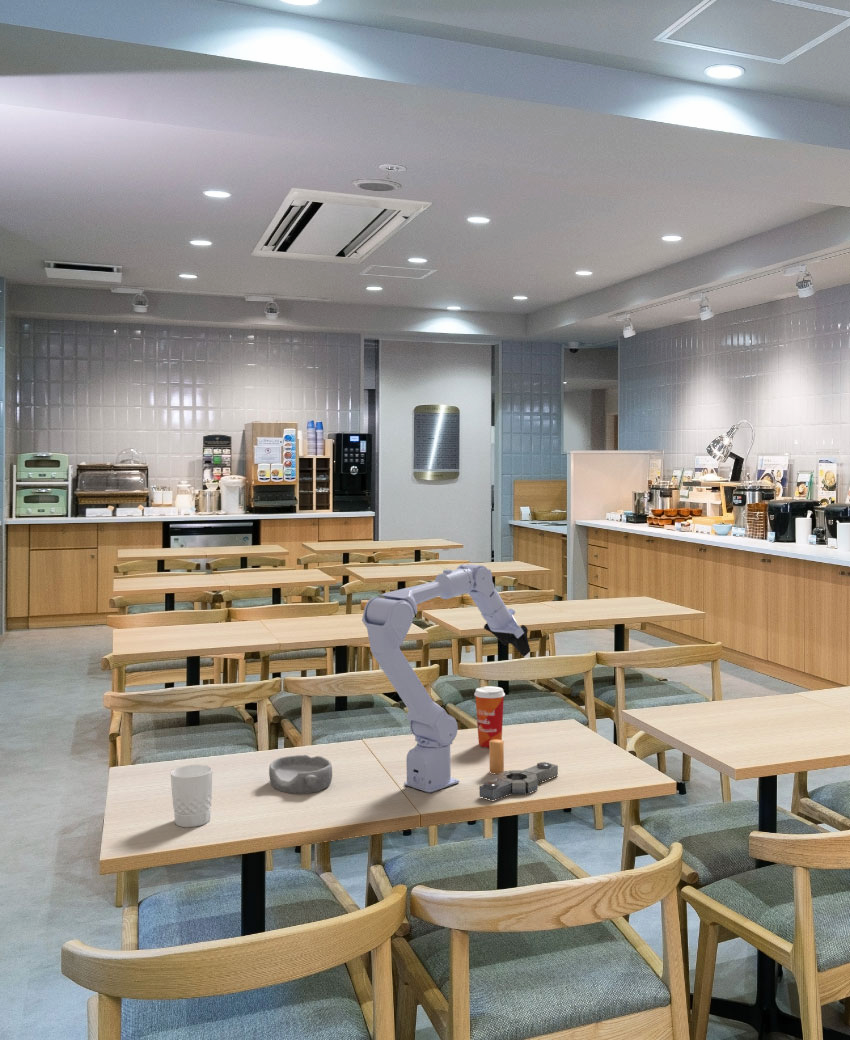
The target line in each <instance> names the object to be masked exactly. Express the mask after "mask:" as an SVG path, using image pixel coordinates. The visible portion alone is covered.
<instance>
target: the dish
mask: <svg viewBox="0 0 850 1040" xmlns="http://www.w3.org/2000/svg"><path fill="white" fill-rule="evenodd" d="M268 775H269V781H270V784H271V786H272V788H273V789H275V790H277V791H278V792H279V791H280V792H283V793H287V794H299V795H300V794H302V795H303V794H312V793H316V792H319V791H323V790H324V789H326V788H328V787H329V786H330V785H331V783H332V779H333V766H332V762H331V761H330V760H329V759H327V758H326V757H323V756H321V755H320V756H319V755H317V756H310V755H308V754H307V755H306V754H304V755H302V754H296V755H295V754H294V755H287V756H286V755H285V756H280V757H278V758H276V759H274V760H272V762H270V764H269V768H268Z"/></svg>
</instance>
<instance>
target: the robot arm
mask: <svg viewBox="0 0 850 1040" xmlns="http://www.w3.org/2000/svg"><path fill="white" fill-rule="evenodd" d="M491 570H492V569H489V568H487V567H486V566H485V565H480V564H468V563H467V564H463V563H462V564H460V565H458V566H457V568H456V569H449V568H446V569H443V570H442V571H443V573H438V574H437V575H436V576H435V578H434V581H431V582H427V583H422V584H418V585H413V586H410V587H409V586H408V587H405V588H400V589H396V590H393V591H388V592H384V593H382V594H380V596H381V597H380V596H374V597H372V598H370V599H369V600H368V601H366V604H365V606H364V609H363V613H362V619H361V621H362V624H363V625H364V626H365V628H366V630H367V637H368V642H369V648H370V652H371V654H372V656H373V658H374V659H375V660H376V662H377V663H378V666H379V667H380V668H381V670H382V671H383V673H384V674H385V676H386V677H387V679H388V680H389V683H391V685H392V687H393V688H394V689H395V691H396V693H397V694H398V696H399V698H400V699H401V700H402V703H404V705H405V706H406V708H407V710H408V711H407V713H406V715H405V717H406V719H407V721H408V724H409V729H410V732H411V734H412V735H413V736H414V737H415V738H414V740H415V741H414V742H416V745H415V746H414V747H413V748H411V749H410V750H408V752H407V754H406V781H404V784H403V785H404V786H408V787H411V788H414V789H415V790H416V789H417V790H420V791H423V792H424V793H425V792H426V793H433V792H436V791H439V790H441V789H442V790H443V789H444V788H447V787H449V786H453V785H456V784H458V783H460V780H459V779H457V778H454V777H452V775H451V773H452V771H451V745H453V742H454V740H455V739H456V737H457V734H458V729H459V728H458V727H459V725H458V721H457V720H456V718H455V717H453V716H452V715H450V714H448V713H447V711H446V710H445V708H443V707H441V706H440V705H439V704H437V703H436V702H435V701H434V700H433V699H432V697H431V696H430V694H429V693H428V691H427V690H426V688H425V686H424V685H423V683H422V681H421V680H420V679H419V677H418V675H417V674H416V671H415V670H414V669H413V667H412V665H411V664H410V663H409V661H408V659H407V658H406V657H405V655H404V653H403V652H402V649H401V648H400V646H402V645H403V643H404V642H405V638H406V637H407V635H408V633H409V630H410V629H411V627H412V624H413V621H414V616H415V615H417V614H418V605H419V604H422V603H424V602H426V601H427V602H428V601H429V600H432V599H435V598H437V597H439V598H441V599H443V600H449V599H453V598H455V597H458V596H462V595H466V594H469V596H470V598H471V600H472V601H473V603H474V604H475V606H476V608H477V609H478V610H479V612H480V613H481V614H480V615H481V617H482V618H483V620H484V621H486V622H485V624H484V625H483V629H484V630H486V631H487V632H490V633H491V634H492V635H494V637H496V638H497V640H499V641H500V642H501V643H502V644H503V645H504V646H506V647H507V646H508V645H509V644H510V645H512V646H513V647H514V649H515V650H516V651H518V653H519V654H520V655H521V656H523V657H526V656H528V654H530V652H531V647H530V643H529V640H528V631H529V630H528V627H527V625H524V624H522V625H521V626H520V625H519V624H518V622H517V620H516V619H515V617H514V615H515V614H516V611H515V609H513V608H508V607H507V605H506V604H505V602H504V600H503V599H502V598H501V595H500V594H499V592H498V590H497V589H496V588H495V587H496V586H495V583H494V582H493V573H492V571H491Z"/></svg>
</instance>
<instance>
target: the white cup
mask: <svg viewBox="0 0 850 1040" xmlns="http://www.w3.org/2000/svg"><path fill="white" fill-rule="evenodd" d="M170 781H171V782H170V783H171V785H170V786H171V796H172V807H173V814H174V823H175V825H176V826H179V827H181V828H195V827H201V826H203V825H206V824H207V823H208V822H210V821H211V809H212V808H211V807H212V797H213V796H212V795H213V789H212V788H213V768H212V767H211V766H209V765H207V764H189V765H188V764H187V765H183V766H179V767H176V768H174V769H172V770H171V771H170Z"/></svg>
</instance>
